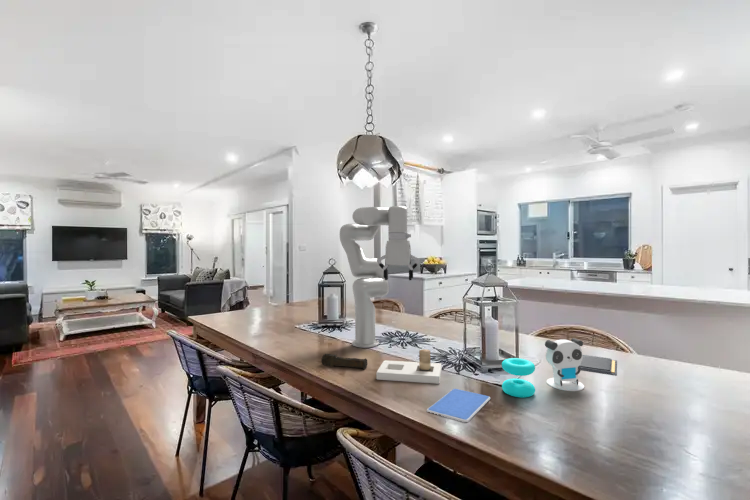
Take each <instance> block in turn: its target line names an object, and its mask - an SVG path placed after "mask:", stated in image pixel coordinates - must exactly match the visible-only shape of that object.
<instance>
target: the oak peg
mask: <svg viewBox="0 0 750 500" xmlns="http://www.w3.org/2000/svg"><path fill="white" fill-rule="evenodd" d="M418 352H419V353H418V354H419V355H418V356H419V357H418V358H419V361H418V362H419V371H424V372H431V363H432V362H431V349H427V348H426V349H419V351H418Z"/></svg>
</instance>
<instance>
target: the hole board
mask: <svg viewBox="0 0 750 500" xmlns="http://www.w3.org/2000/svg"><path fill="white" fill-rule="evenodd" d="M441 377H442V363H441V362H440V363H439V362H438V363H437V362H436V363H435V362H431V372H424V371H419V361H418V362H417V361H402V360H383V361H382V363H381V364H380V366H379V367H378V369H377V371H376V380H380V381H381V380H382V381H392V382H393V381H394V382H395V381H396V382H410V383H423V384H424V383H425V384H437V385H438V384H440V382H441Z"/></svg>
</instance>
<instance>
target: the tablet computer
mask: <svg viewBox="0 0 750 500" xmlns="http://www.w3.org/2000/svg"><path fill="white" fill-rule="evenodd" d="M490 400H491V397H490V396H489V395H485V394H481V393H476V392H472V391H467V390H463V389H459V388H452V389H451V390H450V391H448V392H447V393H446V394H444V395H443V396H442V397H440V398H439V400H436V401H435V403H433V404H432V405H430V406H429V407H427V409H426V413H428V412H430V413H429V414H432V413H434V414H433V415H435V414H437V415H436V416H439V415H441V416H440V417H443V416H444V417H443V418H446V417H447V419H450V418H451V419H450V420H453V419H455V420H454V421H457V420H458V421H457V422H460V421H462V422H461V423H464V422H468V423H469V422H470V421H471V420H472V419H473V418H474V416H476V414H478V412H480V410H481V409H482V408H483V407H485V405H486V404H487V403H488V402H489V401H490Z"/></svg>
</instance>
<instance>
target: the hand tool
mask: <svg viewBox="0 0 750 500" xmlns="http://www.w3.org/2000/svg"><path fill="white" fill-rule="evenodd" d="M321 365H324V366H326V367H327V366H328V367H331V368H332V367H336V366H337V367H347V368H356V369H363V370H366V369H367V367H368V359H367V358H357V357H345V356H344V357H343V356H337V354H332V353H324V354H323V356H322V358H321Z"/></svg>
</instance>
